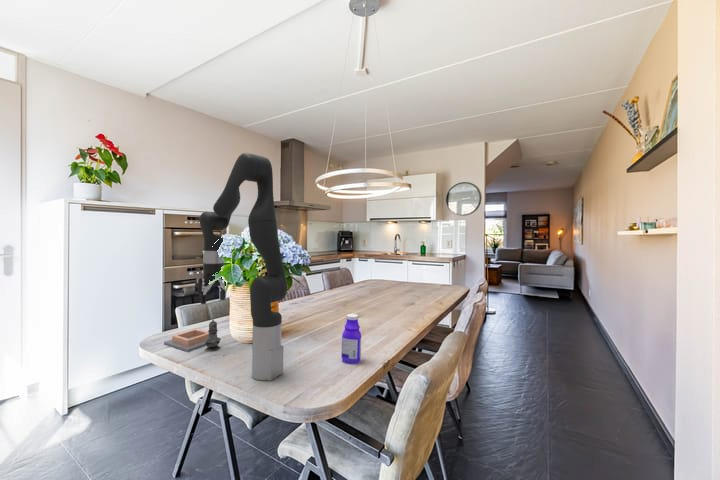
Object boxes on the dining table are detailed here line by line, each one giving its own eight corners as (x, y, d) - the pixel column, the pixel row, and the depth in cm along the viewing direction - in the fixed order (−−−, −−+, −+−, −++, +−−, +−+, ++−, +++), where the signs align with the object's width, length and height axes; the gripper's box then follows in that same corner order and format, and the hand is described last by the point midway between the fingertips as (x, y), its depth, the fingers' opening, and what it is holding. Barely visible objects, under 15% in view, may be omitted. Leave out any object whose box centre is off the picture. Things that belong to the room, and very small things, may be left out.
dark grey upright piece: (213, 352, 113) (214, 322, 113) (200, 350, 114) (201, 320, 114) (223, 346, 119) (224, 317, 119) (211, 345, 120) (211, 316, 120)
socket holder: (219, 340, 125) (219, 332, 125) (187, 352, 113) (188, 343, 113) (195, 334, 132) (196, 326, 132) (163, 344, 120) (163, 336, 120)
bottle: (362, 359, 110) (363, 314, 110) (358, 365, 105) (359, 318, 105) (344, 356, 113) (345, 312, 112) (339, 362, 107) (340, 316, 107)
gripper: (203, 264, 108) (202, 307, 108) (235, 261, 121) (234, 299, 121) (190, 262, 111) (190, 304, 112) (222, 259, 124) (222, 297, 124)
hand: (213, 301), depth 116 cm, fingers open, 8 cm apart
